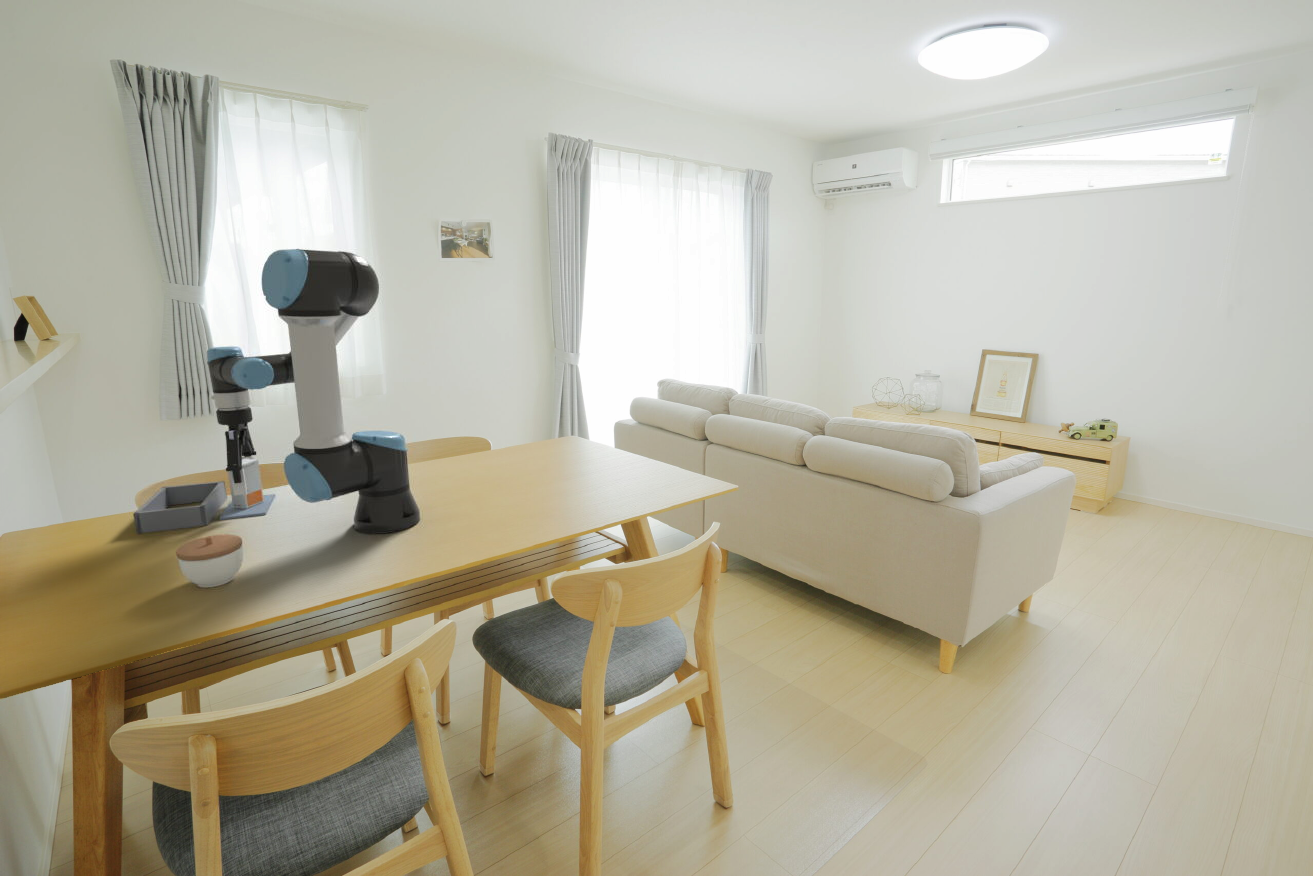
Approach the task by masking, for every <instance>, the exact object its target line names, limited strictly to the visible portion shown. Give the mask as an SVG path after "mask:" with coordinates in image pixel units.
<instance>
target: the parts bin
mask: <svg viewBox="0 0 1313 876" xmlns="http://www.w3.org/2000/svg"><path fill="white" fill-rule="evenodd" d="M226 487H227V486H226V482H225V480H221V481H220V480H219V481H210V482H203V483H202V482H201V483H191V484H190V483H189V484H181V485H179V484H178V485H171V486H170V485H169V486H162V487H161V488H160V489H159V490H157V491H156V492H155V493H154V494H153V495H152V496H151V497H150V498H149V499H148V500H147V501H146V502H144V503H143V504H142V505H141V506H140V507H139V508H138V509H137V510H136V511H134V512H133V519H134V524H135V528H136V533H137V535H138V534H145V533H154V532H162V531H171V530H179V529H188V528H195V527H204V526H206V527H207V526H208V525H209V524H210V523H211V521H212V519H213V518H214V517H215V515H216V514H217V513H218V512H219V510H220V509H221V507H222V506H223V504H224V503H225V502H226V501H227V499H228V495H227V489H226ZM200 501H201V502H200ZM192 502H196V503H201V504H200V505H191V506H182V507H174V508H169V506H174V505H175V506H176V505H185V504H193V503H192Z"/></svg>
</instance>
